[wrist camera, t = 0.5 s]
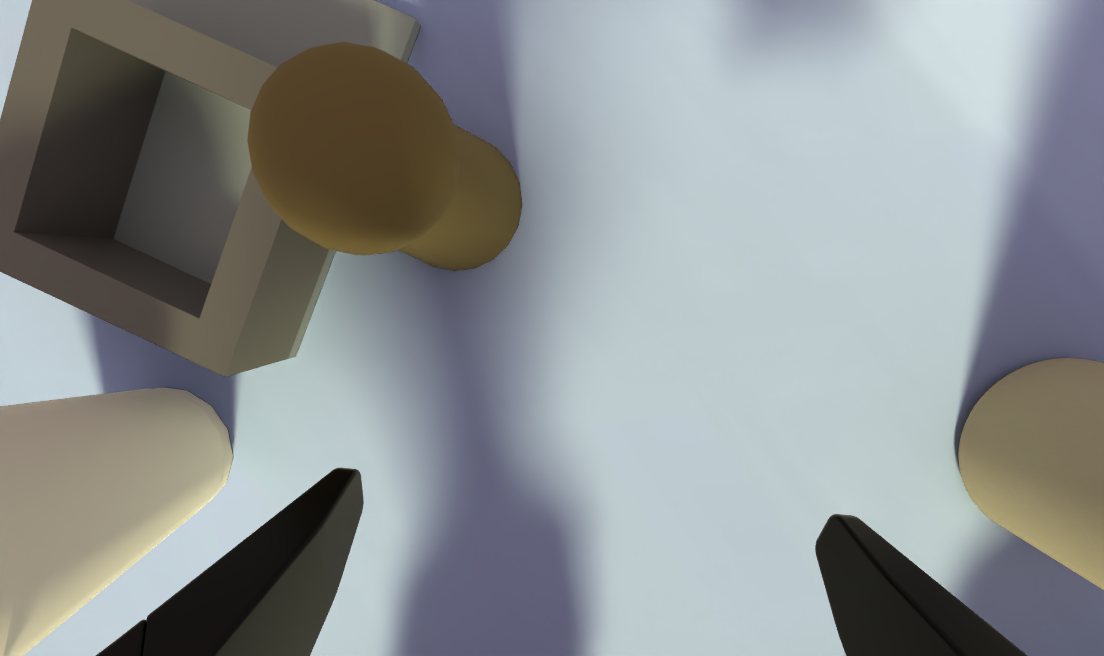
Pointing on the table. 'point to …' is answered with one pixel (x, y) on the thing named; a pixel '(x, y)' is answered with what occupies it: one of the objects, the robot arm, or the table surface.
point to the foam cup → (95, 495)
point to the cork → (378, 161)
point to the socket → (166, 167)
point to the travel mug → (1043, 460)
